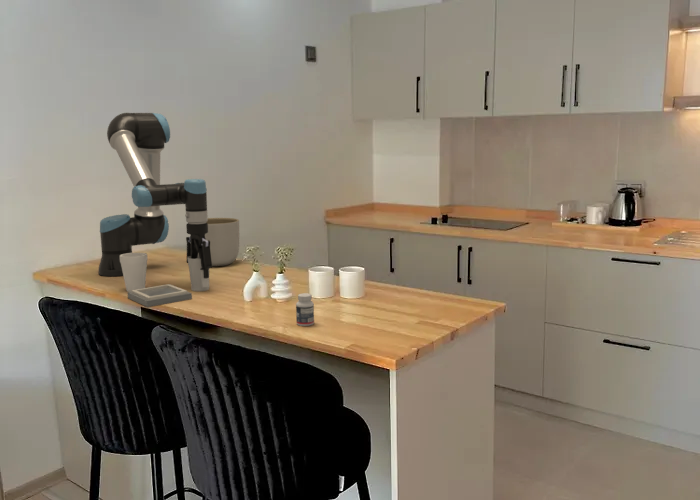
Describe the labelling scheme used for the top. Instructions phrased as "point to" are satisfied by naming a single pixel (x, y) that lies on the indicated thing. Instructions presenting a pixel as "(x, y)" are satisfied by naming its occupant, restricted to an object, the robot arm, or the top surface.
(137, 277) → the foam cup
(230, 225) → the planter
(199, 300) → the top surface
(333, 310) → the top surface
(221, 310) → the top surface
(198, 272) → the cup
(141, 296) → the grey square tray
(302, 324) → the pill bottle
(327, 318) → the top surface
